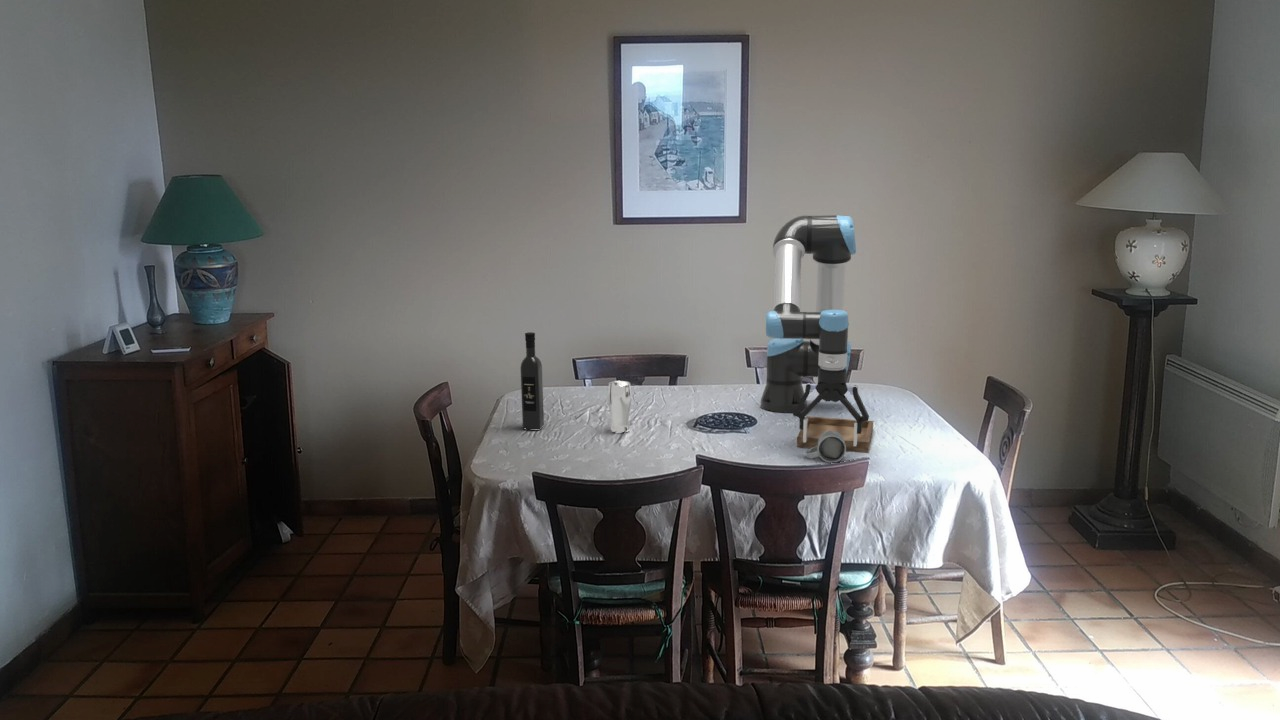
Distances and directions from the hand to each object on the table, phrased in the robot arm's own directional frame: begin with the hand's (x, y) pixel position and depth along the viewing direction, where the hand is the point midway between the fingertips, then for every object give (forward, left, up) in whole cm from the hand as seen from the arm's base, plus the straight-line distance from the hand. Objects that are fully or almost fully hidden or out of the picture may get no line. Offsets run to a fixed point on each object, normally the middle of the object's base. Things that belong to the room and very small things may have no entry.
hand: (829, 443), depth 257 cm
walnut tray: (0, +19, -5) cm, 20 cm away
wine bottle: (-91, +6, -5) cm, 91 cm away
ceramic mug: (-1, 0, -5) cm, 5 cm away
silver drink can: (-64, +10, -5) cm, 65 cm away
